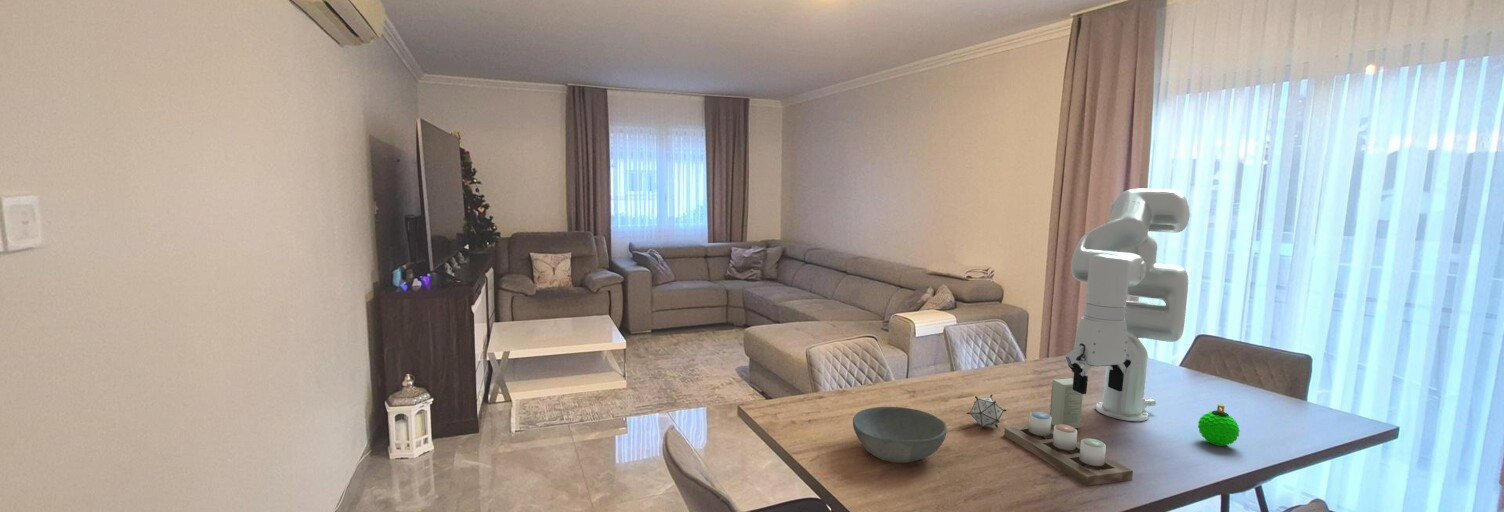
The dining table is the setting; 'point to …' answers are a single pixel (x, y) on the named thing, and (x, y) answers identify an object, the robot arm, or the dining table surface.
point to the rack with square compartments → (1068, 458)
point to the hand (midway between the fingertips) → (1097, 390)
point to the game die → (986, 411)
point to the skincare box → (1065, 403)
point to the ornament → (1218, 427)
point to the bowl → (899, 433)
